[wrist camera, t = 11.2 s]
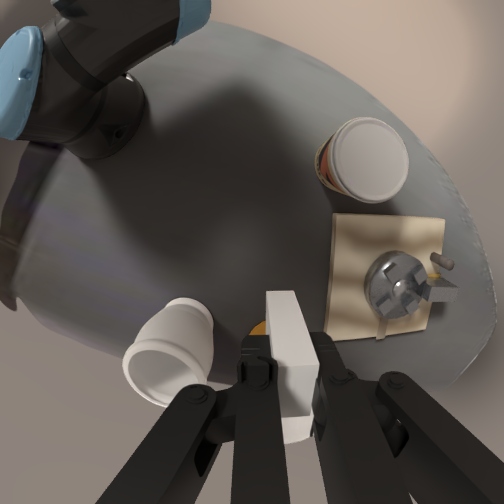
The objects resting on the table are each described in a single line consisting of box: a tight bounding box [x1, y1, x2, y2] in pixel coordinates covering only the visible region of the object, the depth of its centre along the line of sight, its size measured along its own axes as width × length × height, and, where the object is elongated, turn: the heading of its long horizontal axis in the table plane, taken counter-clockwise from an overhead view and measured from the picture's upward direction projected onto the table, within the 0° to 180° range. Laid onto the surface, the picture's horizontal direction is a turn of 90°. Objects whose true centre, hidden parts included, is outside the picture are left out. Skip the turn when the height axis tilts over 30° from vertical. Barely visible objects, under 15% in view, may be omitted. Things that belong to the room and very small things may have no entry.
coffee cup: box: [315, 117, 409, 203], centre depth 30 cm, size 9×9×12 cm
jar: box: [122, 298, 214, 407], centre depth 35 cm, size 11×10×15 cm
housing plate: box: [323, 213, 454, 341], centre depth 37 cm, size 20×20×7 cm
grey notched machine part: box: [364, 250, 459, 319], centre depth 35 cm, size 16×10×5 cm, turn 85°
